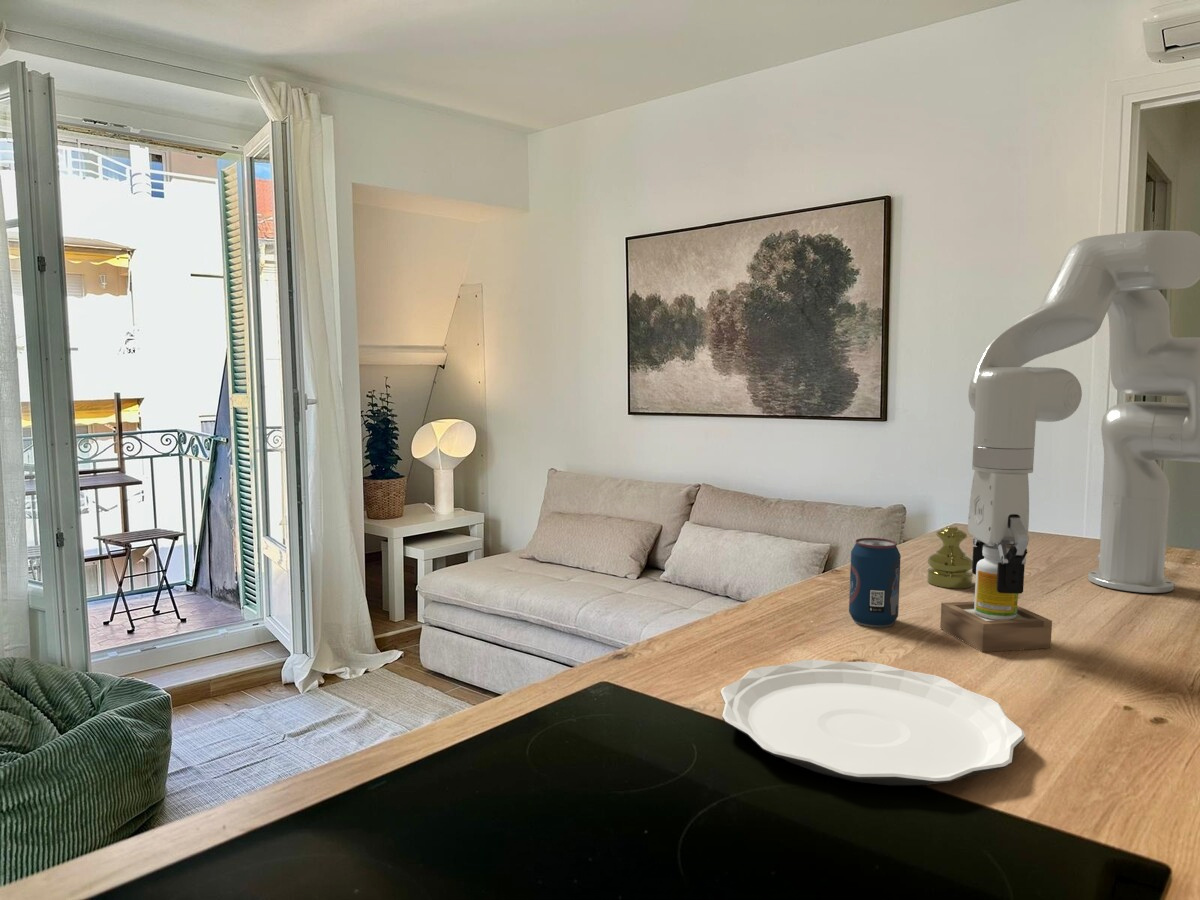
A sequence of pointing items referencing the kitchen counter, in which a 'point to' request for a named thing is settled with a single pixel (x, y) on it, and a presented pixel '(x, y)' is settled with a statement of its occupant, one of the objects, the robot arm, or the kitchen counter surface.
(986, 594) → the supplement bottle
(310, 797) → the kitchen counter surface
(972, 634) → the picture frame
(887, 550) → the soda can
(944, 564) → the green chess piece
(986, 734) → the plate
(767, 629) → the kitchen counter surface
